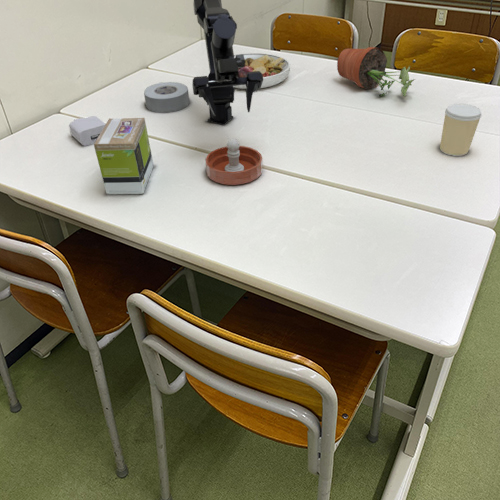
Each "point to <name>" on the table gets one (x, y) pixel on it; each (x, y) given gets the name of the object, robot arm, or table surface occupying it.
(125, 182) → the tea box
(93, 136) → the charger
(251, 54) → the bowl
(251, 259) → the table surface
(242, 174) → the bowl
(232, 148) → the chess piece
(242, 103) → the table surface
